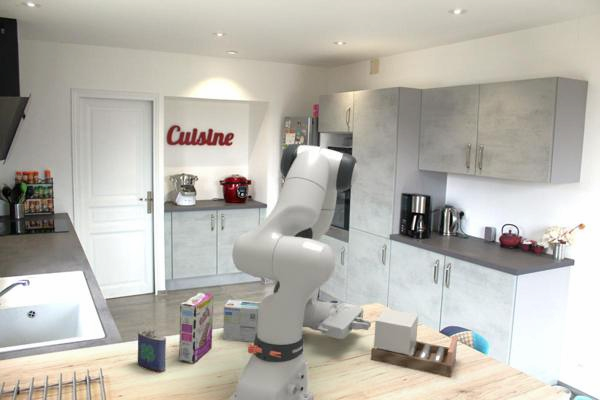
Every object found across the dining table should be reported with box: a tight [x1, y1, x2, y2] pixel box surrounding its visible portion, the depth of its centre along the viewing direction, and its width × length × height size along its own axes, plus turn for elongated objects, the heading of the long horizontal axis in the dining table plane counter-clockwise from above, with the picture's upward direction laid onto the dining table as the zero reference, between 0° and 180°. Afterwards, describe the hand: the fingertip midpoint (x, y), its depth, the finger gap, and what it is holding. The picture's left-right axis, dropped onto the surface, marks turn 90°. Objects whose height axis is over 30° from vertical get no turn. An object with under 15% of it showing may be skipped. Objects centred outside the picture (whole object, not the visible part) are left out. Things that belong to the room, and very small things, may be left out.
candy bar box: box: [178, 292, 214, 365], centre depth 140 cm, size 11×5×16 cm, turn 164°
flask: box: [137, 328, 167, 373], centre depth 132 cm, size 9×3×11 cm, turn 61°
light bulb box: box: [222, 299, 261, 343], centre depth 154 cm, size 11×7×11 cm, turn 84°
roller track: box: [370, 335, 459, 378], centre depth 144 cm, size 22×12×7 cm, turn 66°
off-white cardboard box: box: [373, 308, 419, 355], centre depth 145 cm, size 10×11×8 cm
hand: (369, 325), depth 148 cm, fingers closed
